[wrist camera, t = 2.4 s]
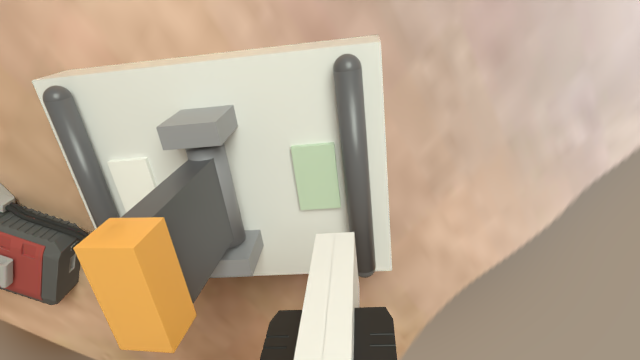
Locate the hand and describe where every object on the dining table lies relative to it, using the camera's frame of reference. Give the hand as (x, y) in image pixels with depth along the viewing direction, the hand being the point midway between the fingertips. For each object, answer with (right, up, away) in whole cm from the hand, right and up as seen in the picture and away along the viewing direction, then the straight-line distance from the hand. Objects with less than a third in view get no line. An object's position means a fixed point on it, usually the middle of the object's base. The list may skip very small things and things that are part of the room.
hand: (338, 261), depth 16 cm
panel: (-6, +4, +10) cm, 13 cm away
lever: (-7, +2, +6) cm, 9 cm away
